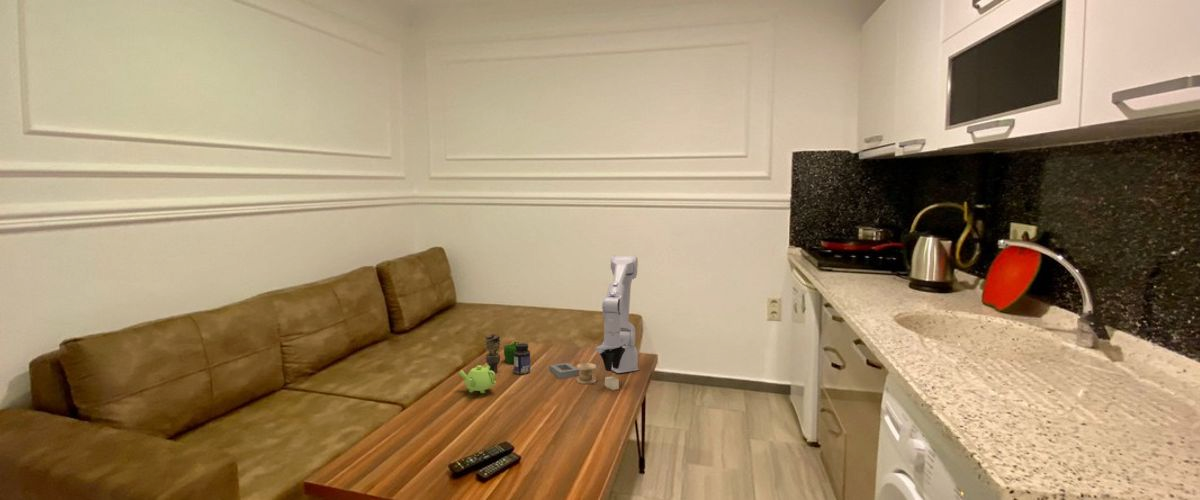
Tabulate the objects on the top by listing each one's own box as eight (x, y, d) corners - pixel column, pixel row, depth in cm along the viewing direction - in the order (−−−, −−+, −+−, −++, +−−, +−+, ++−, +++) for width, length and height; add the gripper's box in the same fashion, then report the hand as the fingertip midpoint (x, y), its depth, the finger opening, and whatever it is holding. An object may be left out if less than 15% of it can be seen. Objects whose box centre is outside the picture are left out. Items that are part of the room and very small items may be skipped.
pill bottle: (531, 371, 199) (531, 342, 198) (528, 376, 193) (528, 347, 192) (516, 370, 199) (516, 342, 198) (512, 375, 193) (512, 346, 192)
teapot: (501, 391, 175) (501, 367, 175) (468, 398, 169) (468, 372, 169) (489, 382, 185) (489, 359, 184) (457, 388, 179) (457, 364, 178)
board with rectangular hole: (568, 369, 202) (568, 362, 201) (579, 376, 193) (579, 369, 192) (549, 371, 198) (549, 365, 198) (560, 379, 189) (560, 372, 189)
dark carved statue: (482, 373, 195) (481, 334, 194) (491, 370, 199) (491, 331, 198) (493, 376, 192) (493, 336, 191) (503, 372, 197) (503, 333, 196)
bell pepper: (501, 363, 209) (501, 338, 208) (521, 360, 212) (521, 336, 212) (507, 368, 201) (506, 343, 201) (527, 366, 205) (527, 341, 204)
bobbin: (590, 376, 192) (590, 362, 192) (599, 382, 186) (599, 367, 186) (573, 379, 189) (573, 364, 188) (582, 385, 183) (582, 369, 182)
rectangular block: (610, 385, 184) (610, 376, 183) (618, 388, 180) (618, 379, 179) (604, 386, 182) (604, 377, 182) (612, 390, 178) (612, 381, 178)
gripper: (617, 326, 187) (617, 362, 189) (589, 332, 177) (589, 371, 178) (632, 329, 183) (631, 366, 184) (604, 336, 172) (604, 376, 173)
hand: (611, 369), depth 181 cm, fingers open, 3 cm apart
